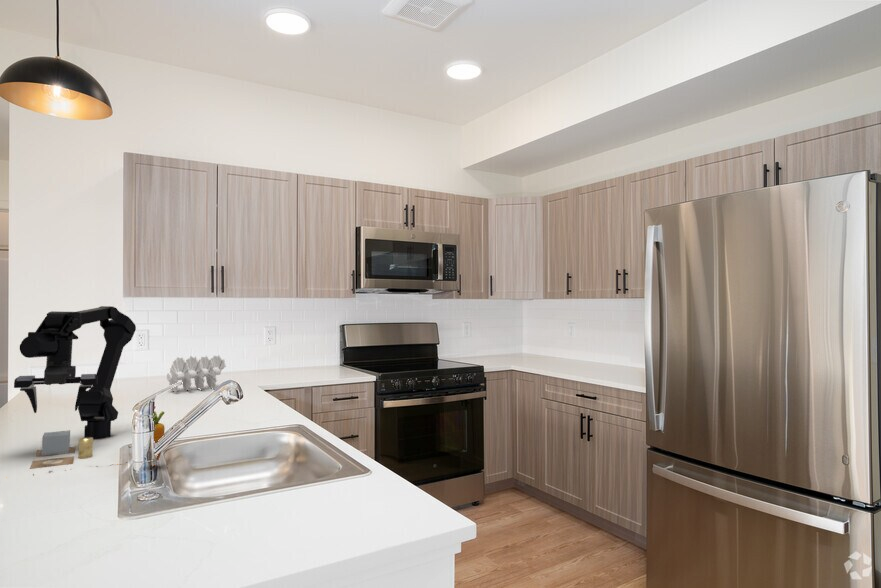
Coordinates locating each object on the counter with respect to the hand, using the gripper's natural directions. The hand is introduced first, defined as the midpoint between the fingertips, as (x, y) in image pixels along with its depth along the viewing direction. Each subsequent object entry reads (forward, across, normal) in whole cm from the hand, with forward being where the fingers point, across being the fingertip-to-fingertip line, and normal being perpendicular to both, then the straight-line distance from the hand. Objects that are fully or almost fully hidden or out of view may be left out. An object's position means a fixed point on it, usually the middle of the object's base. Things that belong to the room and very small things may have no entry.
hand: (55, 411), depth 148 cm
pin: (+12, +8, -10) cm, 17 cm away
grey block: (+11, +1, 0) cm, 11 cm away
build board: (+12, +1, -12) cm, 17 cm away
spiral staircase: (+9, +48, +107) cm, 118 cm away
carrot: (+13, +23, -25) cm, 36 cm away
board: (+12, +1, 0) cm, 12 cm away
